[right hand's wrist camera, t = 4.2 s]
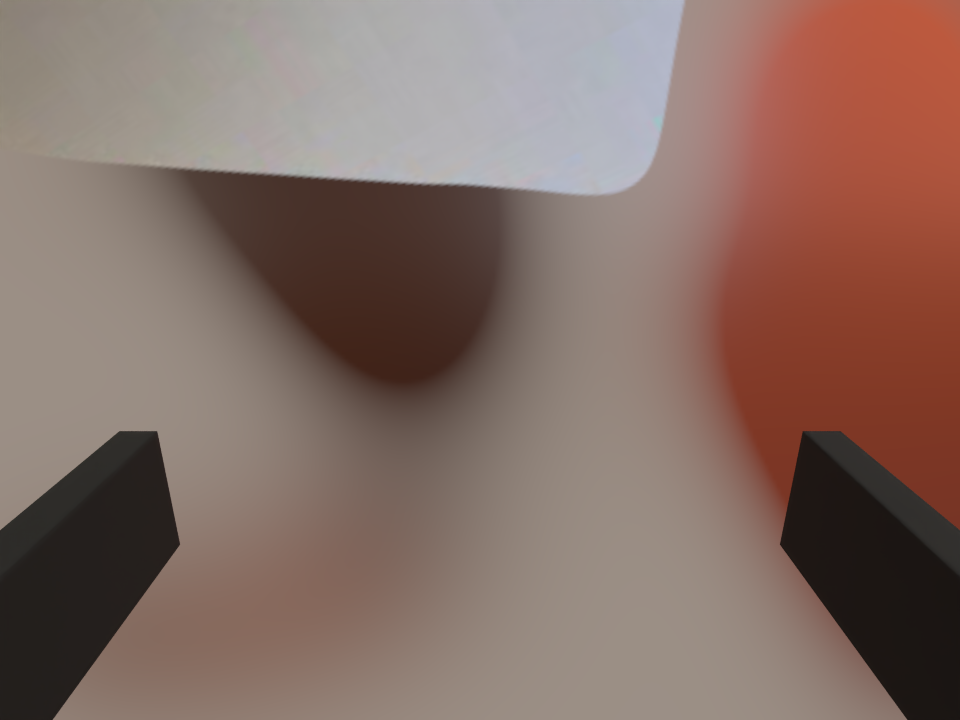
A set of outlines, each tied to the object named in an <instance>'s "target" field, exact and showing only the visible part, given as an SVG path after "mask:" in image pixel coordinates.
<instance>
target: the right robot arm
mask: <svg viewBox="0 0 960 720" xmlns="http://www.w3.org/2000/svg"><path fill="white" fill-rule="evenodd" d="M179 545H180V542H179V537H178V532H177V527H176V522H175V517H174V513H173V507H172V503H171V497H170V493H169V488H168V483H167V478H166V473H165V468H164V463H163V458H162V453H161V448H160V443H159V438H158V433H157V431H119V432H118V433H117V434H116V435H114V436H113V437H112V438H111V439H110V440H108V441H107V442H106V443H105V444H104V445H102V446H101V447H100V448H99V449H98V450H96V451H95V452H94V453H93V454H92V455H90V456H89V457H88V458H87V459H86V460H84V461H83V462H82V463H81V464H80V465H78V466H77V467H76V468H75V469H74V470H72V471H71V472H70V473H69V474H67V475H66V476H65V477H64V478H63V479H61V480H60V481H59V482H58V483H57V484H55V485H54V486H53V487H52V488H51V489H49V490H48V491H47V492H46V493H45V494H43V495H42V496H41V497H40V498H39V499H37V500H36V501H35V502H34V503H33V504H31V505H30V506H29V507H28V508H27V509H25V510H24V511H23V512H22V513H21V514H19V515H18V516H17V517H16V518H15V519H13V520H12V521H11V522H10V523H8V524H7V525H6V526H5V527H4V528H2V529H1V530H0V720H53V718H54V717H55V716H56V714H57V713H58V712H59V710H60V709H61V707H62V706H63V705H64V703H65V702H66V700H67V699H68V698H69V696H70V695H71V694H72V692H73V691H74V690H75V688H76V687H77V685H78V684H79V683H80V681H81V680H82V678H83V677H84V676H85V674H86V673H87V672H88V670H89V669H90V668H91V666H92V665H93V663H94V662H95V661H96V659H97V658H98V657H99V655H100V654H101V652H102V651H103V650H104V648H105V647H106V646H107V644H108V643H109V641H110V640H111V639H112V637H113V636H114V634H115V633H116V632H117V630H118V629H119V628H120V626H121V625H122V624H123V622H124V621H125V619H126V618H127V617H128V615H129V614H130V613H131V611H132V610H133V608H134V607H135V606H136V604H137V603H138V602H139V600H140V599H141V597H142V596H143V595H144V593H145V592H146V591H147V589H148V588H149V586H150V585H151V584H152V582H153V581H154V580H155V578H156V577H157V575H158V574H159V573H160V571H161V570H162V569H163V567H164V566H165V564H166V563H167V562H168V560H169V559H170V558H171V556H172V555H173V553H174V552H175V551H176V549H177V548H178V547H179ZM780 545H781V547H782V548H783V549H784V551H785V552H786V553H787V555H788V556H789V557H790V559H791V560H792V562H793V563H794V564H795V566H796V567H797V569H798V570H799V571H800V573H801V574H802V575H803V577H804V578H805V580H806V581H807V582H808V584H809V585H810V586H811V588H812V589H813V591H814V592H815V593H816V595H817V596H818V597H819V599H820V600H821V602H822V603H823V604H824V606H825V607H826V608H827V610H828V611H829V612H830V614H831V615H832V617H833V618H834V619H835V621H836V622H837V624H838V625H839V626H840V628H841V629H842V630H843V632H844V633H845V635H846V636H847V637H848V639H849V640H850V641H851V643H852V644H853V646H854V647H855V648H856V650H857V651H858V652H859V654H860V655H861V657H862V658H863V659H864V661H865V662H866V663H867V665H868V666H869V668H870V669H871V670H872V672H873V673H874V674H875V676H876V677H877V679H878V680H879V681H880V683H881V684H882V685H883V687H884V688H885V689H886V691H887V692H888V694H889V695H890V696H891V698H892V699H893V701H894V702H895V703H896V705H897V706H898V707H899V709H900V710H901V712H902V713H903V714H904V716H905V717H906V718H907V720H960V530H959V529H958V528H956V527H955V526H954V525H953V524H951V523H950V522H949V521H948V520H947V519H945V518H944V517H943V516H942V515H941V514H939V513H938V512H937V511H936V510H935V509H933V508H932V507H931V506H930V505H929V504H927V503H926V502H925V501H924V500H923V499H921V498H920V497H919V496H918V495H917V494H915V493H914V492H913V491H912V490H911V489H909V488H908V487H907V486H906V485H905V484H903V483H902V482H901V481H900V480H899V479H897V478H896V477H895V476H894V475H893V474H891V473H890V472H889V471H888V470H886V469H885V468H884V467H883V466H882V465H880V464H879V463H878V462H877V461H876V460H874V459H873V458H872V457H871V456H870V455H868V454H867V453H866V452H865V451H864V450H862V449H861V448H860V447H859V446H858V445H856V444H855V443H854V442H853V441H852V440H850V439H849V438H848V437H847V436H846V435H844V434H843V433H842V432H841V431H803V433H802V438H801V443H800V448H799V453H798V458H797V463H796V468H795V473H794V478H793V483H792V488H791V493H790V497H789V503H788V507H787V512H786V517H785V522H784V527H783V532H782V537H781V542H780Z"/></svg>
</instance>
